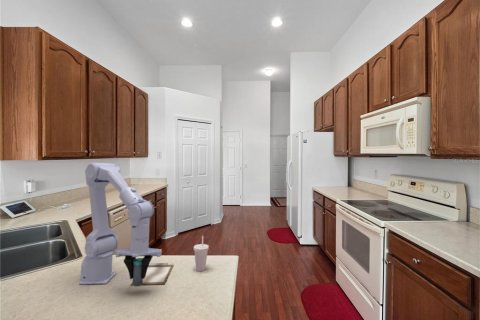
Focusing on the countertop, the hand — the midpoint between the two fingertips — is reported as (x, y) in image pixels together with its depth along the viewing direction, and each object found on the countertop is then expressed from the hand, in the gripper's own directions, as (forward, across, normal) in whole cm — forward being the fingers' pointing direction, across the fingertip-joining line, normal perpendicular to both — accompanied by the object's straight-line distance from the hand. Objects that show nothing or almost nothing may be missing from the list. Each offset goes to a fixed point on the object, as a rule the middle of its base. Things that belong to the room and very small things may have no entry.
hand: (138, 277), depth 75 cm
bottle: (+2, 0, 0) cm, 2 cm away
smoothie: (+5, +20, +16) cm, 26 cm away
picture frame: (+5, +2, +12) cm, 13 cm away
